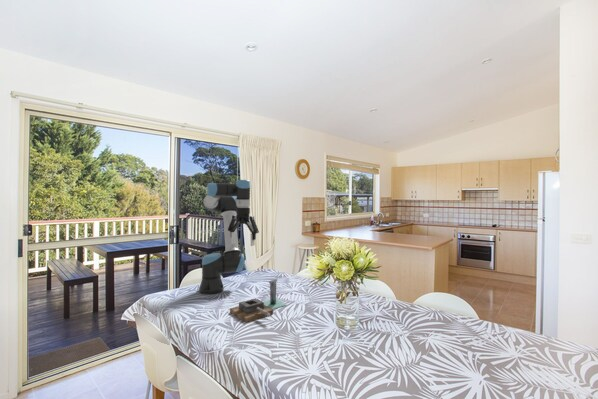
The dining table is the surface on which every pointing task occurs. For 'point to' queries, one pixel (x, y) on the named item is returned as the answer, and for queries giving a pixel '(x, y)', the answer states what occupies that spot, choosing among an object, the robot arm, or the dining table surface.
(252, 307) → the block
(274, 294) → the key
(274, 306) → the mat
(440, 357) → the dining table surface
